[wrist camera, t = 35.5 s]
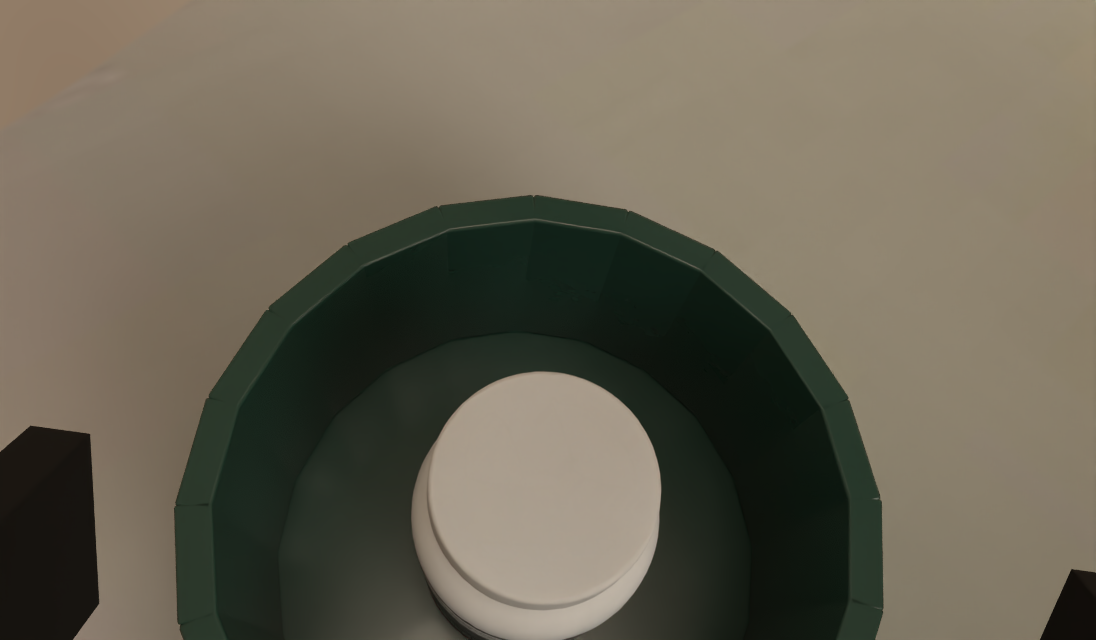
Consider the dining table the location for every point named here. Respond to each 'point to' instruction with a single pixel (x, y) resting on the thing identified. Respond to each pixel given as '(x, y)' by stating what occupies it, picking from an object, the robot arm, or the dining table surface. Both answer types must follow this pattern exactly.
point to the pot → (505, 350)
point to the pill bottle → (536, 509)
